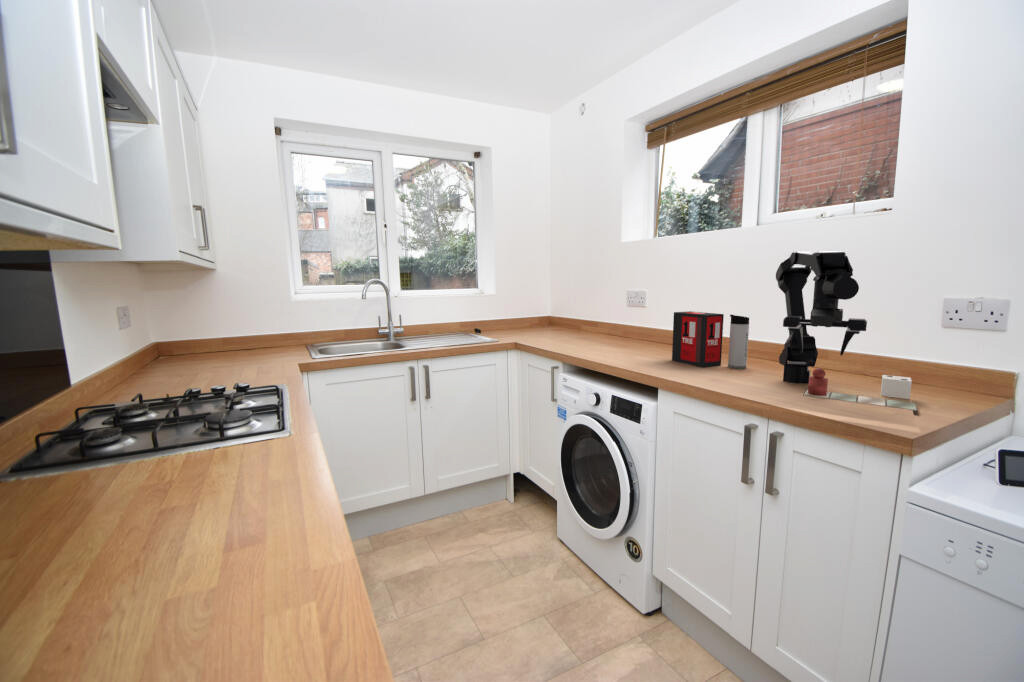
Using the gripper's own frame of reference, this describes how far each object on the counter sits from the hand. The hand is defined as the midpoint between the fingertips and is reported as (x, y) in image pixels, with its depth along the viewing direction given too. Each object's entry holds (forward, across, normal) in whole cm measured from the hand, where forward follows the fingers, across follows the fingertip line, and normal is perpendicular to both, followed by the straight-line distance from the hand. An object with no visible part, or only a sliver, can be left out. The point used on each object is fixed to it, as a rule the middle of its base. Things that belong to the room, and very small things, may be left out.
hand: (820, 353), depth 124 cm
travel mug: (+13, -28, +32) cm, 44 cm away
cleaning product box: (+13, -43, +32) cm, 55 cm away
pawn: (+11, 0, 0) cm, 11 cm away
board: (+12, +9, 0) cm, 15 cm away
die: (+13, +17, +11) cm, 24 cm away
